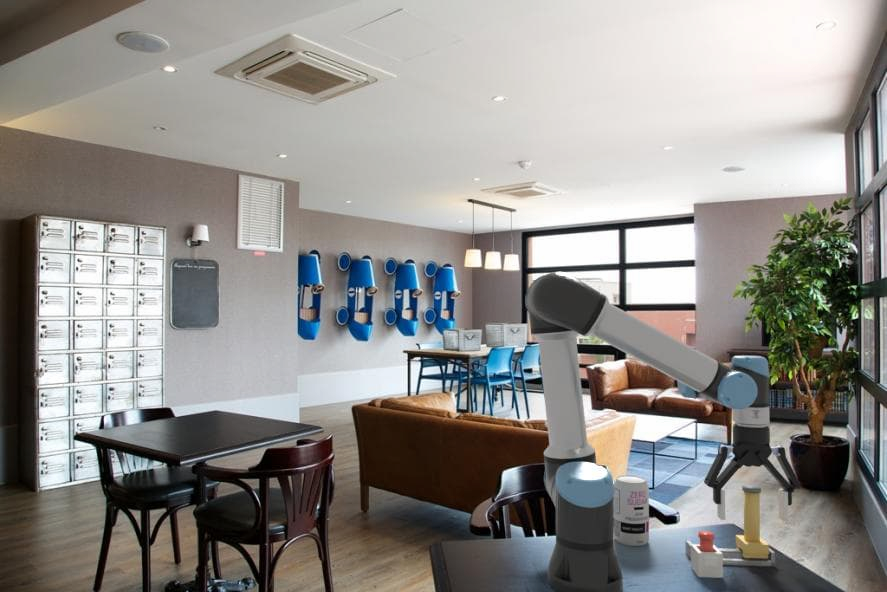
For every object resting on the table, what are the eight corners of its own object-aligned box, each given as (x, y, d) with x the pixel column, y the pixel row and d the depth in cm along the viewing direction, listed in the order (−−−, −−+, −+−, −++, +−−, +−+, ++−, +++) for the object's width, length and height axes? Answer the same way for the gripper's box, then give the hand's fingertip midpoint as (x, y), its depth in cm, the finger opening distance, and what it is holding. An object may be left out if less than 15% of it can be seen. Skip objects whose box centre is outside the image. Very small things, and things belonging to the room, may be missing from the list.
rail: (694, 563, 139) (693, 550, 139) (685, 553, 145) (685, 540, 145) (775, 566, 137) (775, 552, 137) (763, 555, 143) (763, 542, 143)
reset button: (701, 558, 133) (701, 535, 133) (696, 552, 136) (696, 530, 136) (716, 559, 132) (716, 536, 132) (711, 553, 136) (711, 531, 136)
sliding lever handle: (745, 558, 138) (745, 490, 138) (735, 549, 144) (735, 483, 144) (769, 559, 138) (768, 491, 138) (758, 549, 143) (757, 484, 144)
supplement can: (626, 532, 158) (626, 473, 158) (655, 542, 152) (655, 479, 152) (606, 539, 153) (606, 478, 153) (635, 549, 147) (635, 485, 147)
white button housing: (698, 577, 131) (698, 553, 132) (690, 567, 137) (690, 544, 137) (723, 578, 131) (723, 554, 131) (714, 568, 136) (714, 544, 136)
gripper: (699, 426, 138) (701, 523, 138) (816, 427, 137) (818, 525, 136) (689, 420, 146) (690, 512, 145) (799, 421, 144) (801, 514, 144)
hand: (752, 519), depth 141 cm, fingers open, 13 cm apart
